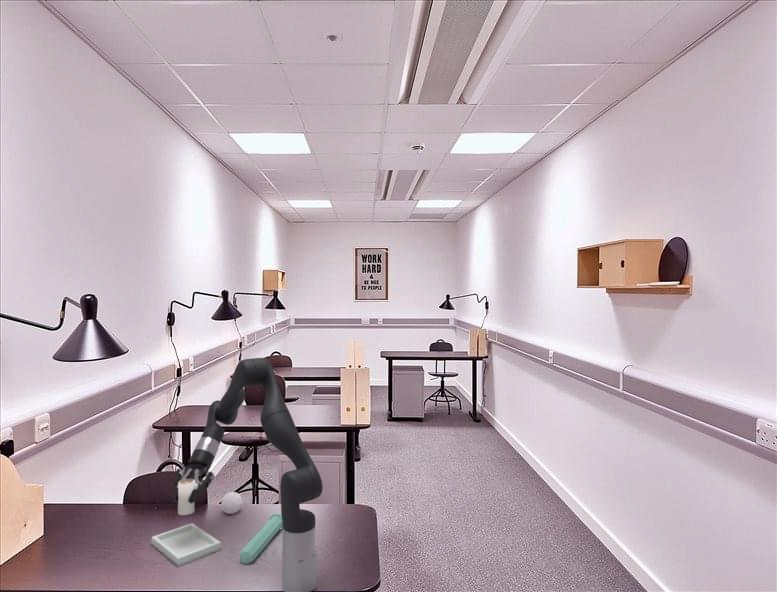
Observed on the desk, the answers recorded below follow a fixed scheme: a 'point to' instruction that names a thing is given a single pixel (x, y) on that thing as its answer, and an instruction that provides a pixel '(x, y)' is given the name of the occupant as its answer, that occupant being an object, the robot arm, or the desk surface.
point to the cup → (185, 496)
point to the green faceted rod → (261, 539)
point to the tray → (185, 544)
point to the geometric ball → (231, 503)
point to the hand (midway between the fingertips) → (182, 501)
